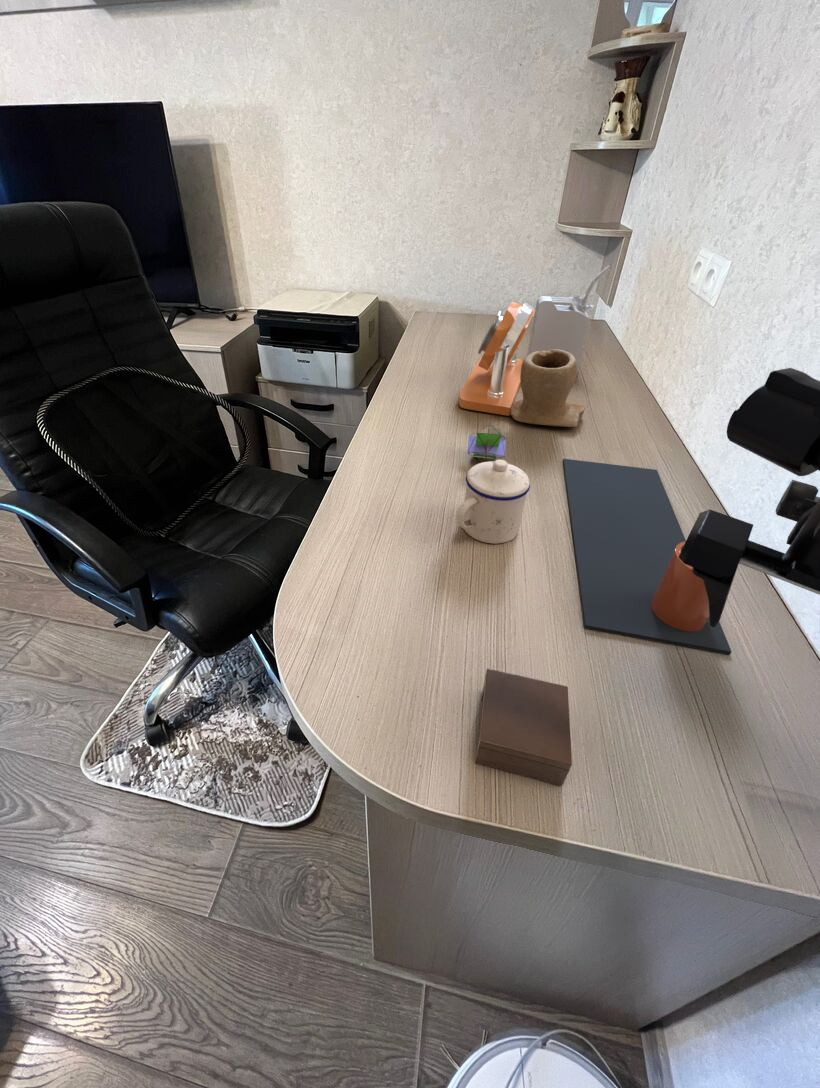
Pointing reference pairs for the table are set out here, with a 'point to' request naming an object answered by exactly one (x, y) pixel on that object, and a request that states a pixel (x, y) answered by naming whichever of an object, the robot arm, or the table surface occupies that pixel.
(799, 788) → the table surface
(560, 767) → the brown square slab
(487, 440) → the geometric puzzle
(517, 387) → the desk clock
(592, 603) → the desk mat
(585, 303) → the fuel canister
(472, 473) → the teacup with lid
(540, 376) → the stone cup
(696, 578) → the cup
